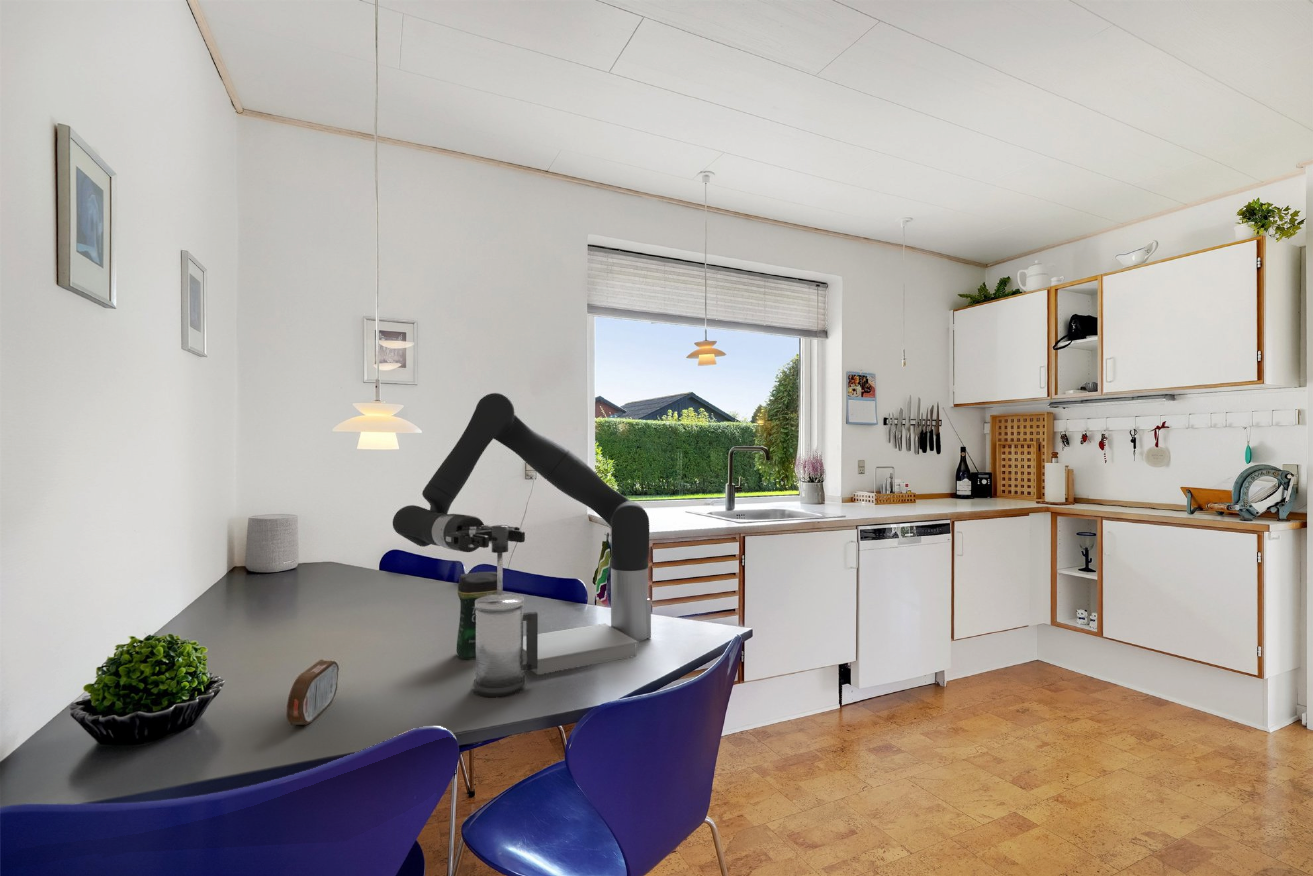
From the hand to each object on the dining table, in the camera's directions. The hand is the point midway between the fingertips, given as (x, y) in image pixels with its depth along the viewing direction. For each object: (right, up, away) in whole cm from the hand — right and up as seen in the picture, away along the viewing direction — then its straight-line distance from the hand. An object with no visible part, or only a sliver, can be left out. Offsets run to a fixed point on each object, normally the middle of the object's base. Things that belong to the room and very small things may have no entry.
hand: (506, 539), depth 123 cm
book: (+10, -30, +21) cm, 38 cm away
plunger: (-1, -11, +1) cm, 11 cm away
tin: (-31, -29, -11) cm, 44 cm away
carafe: (0, -29, +1) cm, 29 cm away
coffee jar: (-11, -30, +21) cm, 38 cm away
